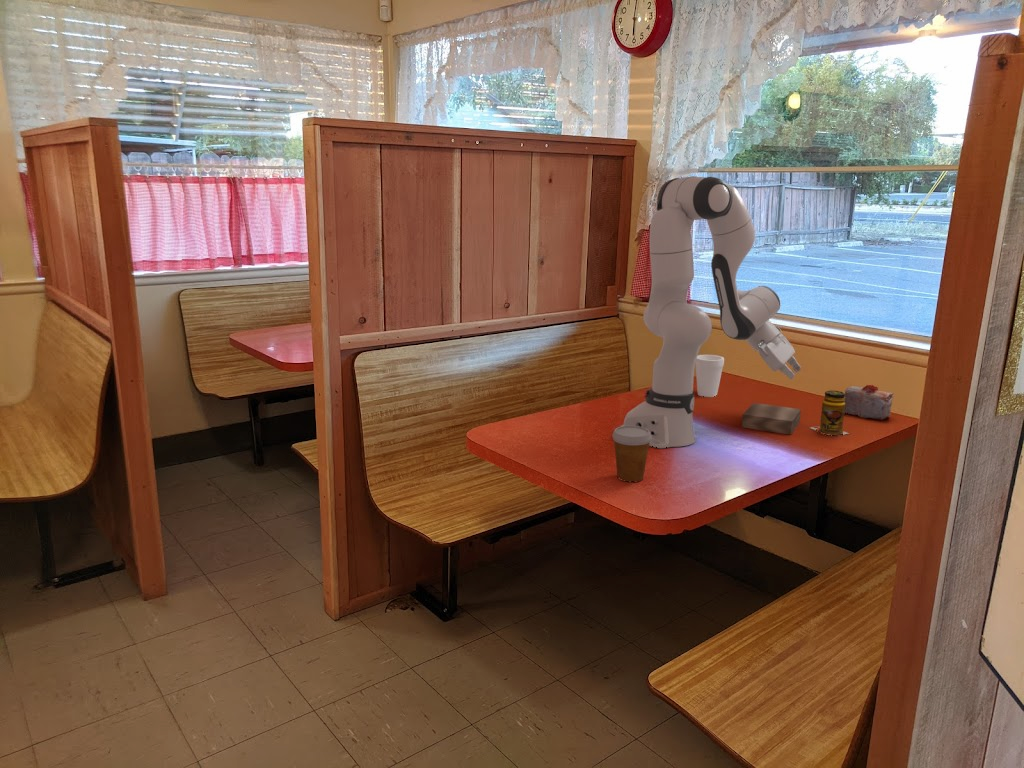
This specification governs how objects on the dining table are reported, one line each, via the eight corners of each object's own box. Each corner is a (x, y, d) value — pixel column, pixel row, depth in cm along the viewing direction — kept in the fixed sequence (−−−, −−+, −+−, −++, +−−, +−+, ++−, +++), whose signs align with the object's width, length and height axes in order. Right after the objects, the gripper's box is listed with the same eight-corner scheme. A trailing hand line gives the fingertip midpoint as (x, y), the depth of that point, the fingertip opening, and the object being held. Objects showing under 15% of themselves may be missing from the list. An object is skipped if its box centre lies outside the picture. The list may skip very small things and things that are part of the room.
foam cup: (691, 390, 262) (693, 354, 258) (717, 391, 261) (720, 354, 258) (696, 398, 253) (698, 360, 249) (724, 398, 252) (726, 360, 249)
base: (741, 427, 222) (742, 414, 221) (752, 415, 234) (753, 402, 233) (791, 434, 215) (792, 421, 214) (799, 421, 227) (800, 409, 226)
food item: (893, 417, 232) (897, 386, 229) (886, 423, 226) (890, 391, 223) (847, 409, 240) (851, 379, 238) (839, 414, 234) (843, 384, 232)
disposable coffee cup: (645, 470, 188) (647, 424, 185) (653, 484, 179) (656, 437, 176) (607, 470, 188) (609, 425, 185) (614, 485, 179) (615, 437, 176)
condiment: (828, 436, 213) (833, 396, 210) (808, 428, 221) (813, 388, 218) (849, 434, 215) (854, 394, 212) (829, 425, 223) (833, 386, 220)
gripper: (765, 337, 211) (798, 375, 209) (779, 325, 229) (810, 360, 226) (748, 351, 215) (780, 388, 212) (763, 338, 232) (793, 373, 230)
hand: (796, 373), depth 220 cm, fingers open, 8 cm apart
